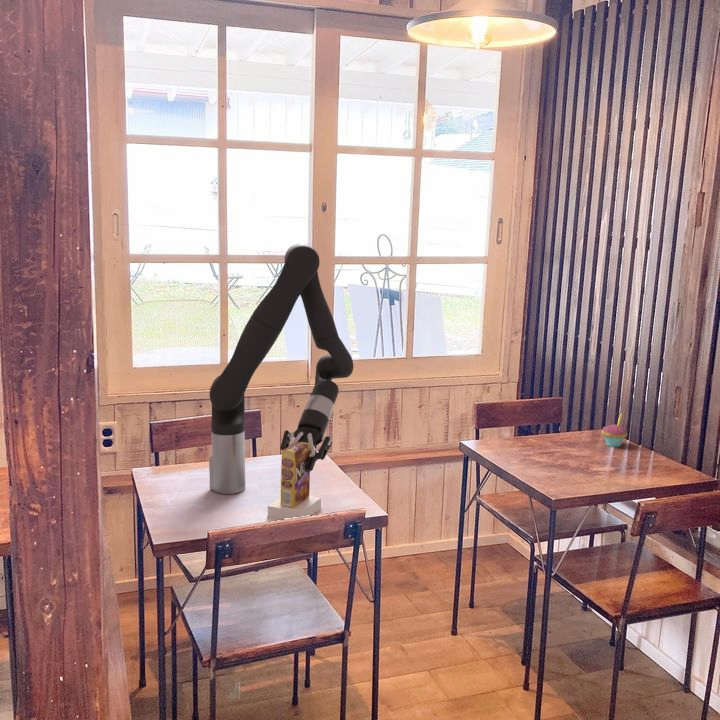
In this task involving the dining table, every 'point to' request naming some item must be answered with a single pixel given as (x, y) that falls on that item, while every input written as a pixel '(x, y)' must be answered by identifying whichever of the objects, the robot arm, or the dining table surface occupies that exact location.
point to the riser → (299, 510)
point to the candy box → (294, 474)
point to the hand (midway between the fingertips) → (296, 469)
